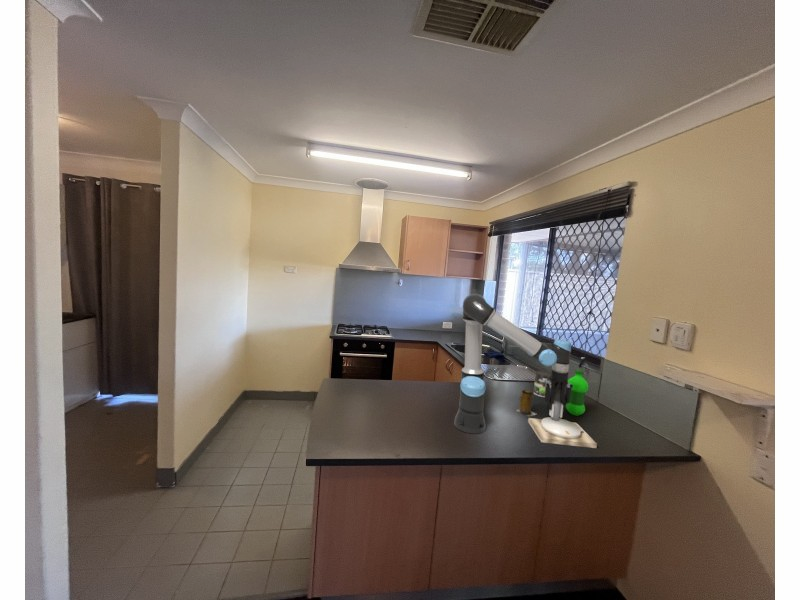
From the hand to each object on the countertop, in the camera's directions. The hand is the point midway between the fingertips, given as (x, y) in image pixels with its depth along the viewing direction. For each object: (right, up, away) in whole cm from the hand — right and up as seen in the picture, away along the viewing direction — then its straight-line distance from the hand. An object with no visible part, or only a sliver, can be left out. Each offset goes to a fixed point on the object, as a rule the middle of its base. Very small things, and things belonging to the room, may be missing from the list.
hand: (555, 415), depth 157 cm
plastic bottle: (+20, -6, +19) cm, 28 cm away
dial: (-1, -4, -6) cm, 7 cm away
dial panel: (-1, -7, -6) cm, 9 cm away
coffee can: (+14, -3, +45) cm, 48 cm away
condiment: (-8, -4, +16) cm, 19 cm away
